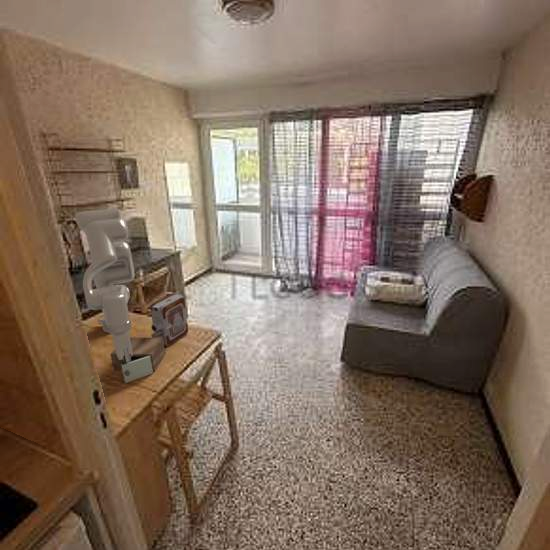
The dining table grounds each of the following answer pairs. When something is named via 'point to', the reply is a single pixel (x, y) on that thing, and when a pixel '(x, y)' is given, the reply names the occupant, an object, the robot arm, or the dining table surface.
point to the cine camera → (169, 319)
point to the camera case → (142, 352)
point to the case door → (137, 369)
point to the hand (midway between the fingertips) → (128, 369)
